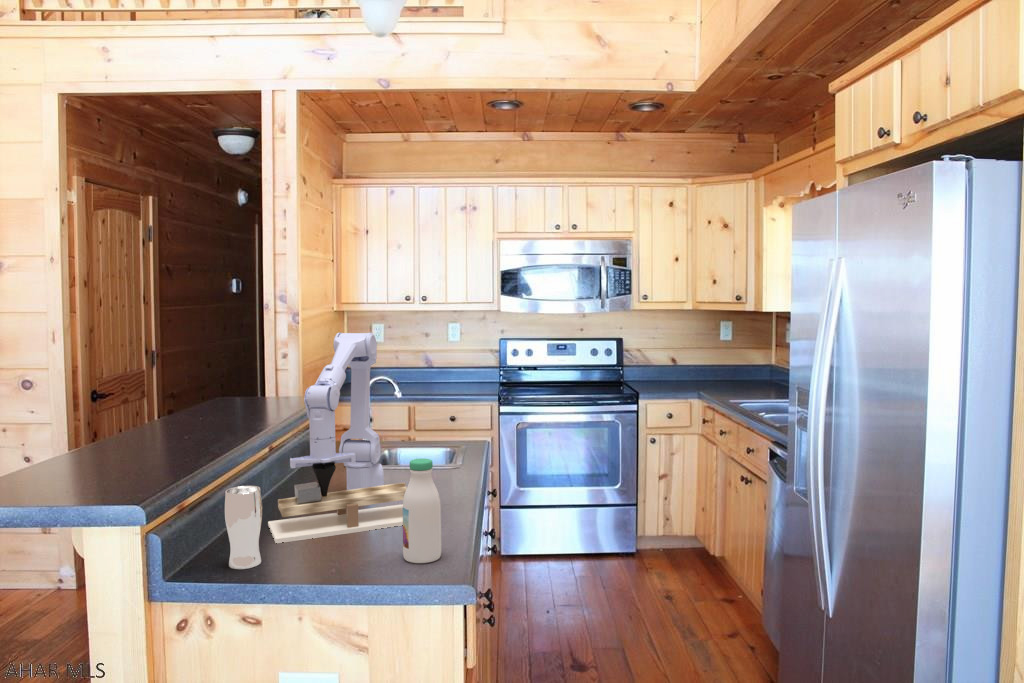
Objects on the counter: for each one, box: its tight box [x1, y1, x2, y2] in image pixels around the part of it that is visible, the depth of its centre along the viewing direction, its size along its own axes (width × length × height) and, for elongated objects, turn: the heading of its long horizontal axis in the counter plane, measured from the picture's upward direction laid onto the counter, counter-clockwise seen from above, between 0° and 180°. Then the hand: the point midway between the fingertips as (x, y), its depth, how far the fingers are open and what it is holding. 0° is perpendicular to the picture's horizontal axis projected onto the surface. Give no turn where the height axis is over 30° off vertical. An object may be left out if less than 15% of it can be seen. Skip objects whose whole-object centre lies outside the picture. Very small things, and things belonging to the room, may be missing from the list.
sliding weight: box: [293, 481, 321, 505], centre depth 166 cm, size 5×5×4 cm
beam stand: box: [267, 503, 403, 544], centre depth 170 cm, size 34×14×6 cm, turn 115°
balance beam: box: [277, 482, 408, 518], centre depth 170 cm, size 30×9×3 cm, turn 115°
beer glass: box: [224, 485, 263, 570], centre depth 144 cm, size 7×7×15 cm
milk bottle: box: [402, 458, 442, 564], centre depth 147 cm, size 8×8×20 cm
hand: (324, 495), depth 168 cm, fingers closed
